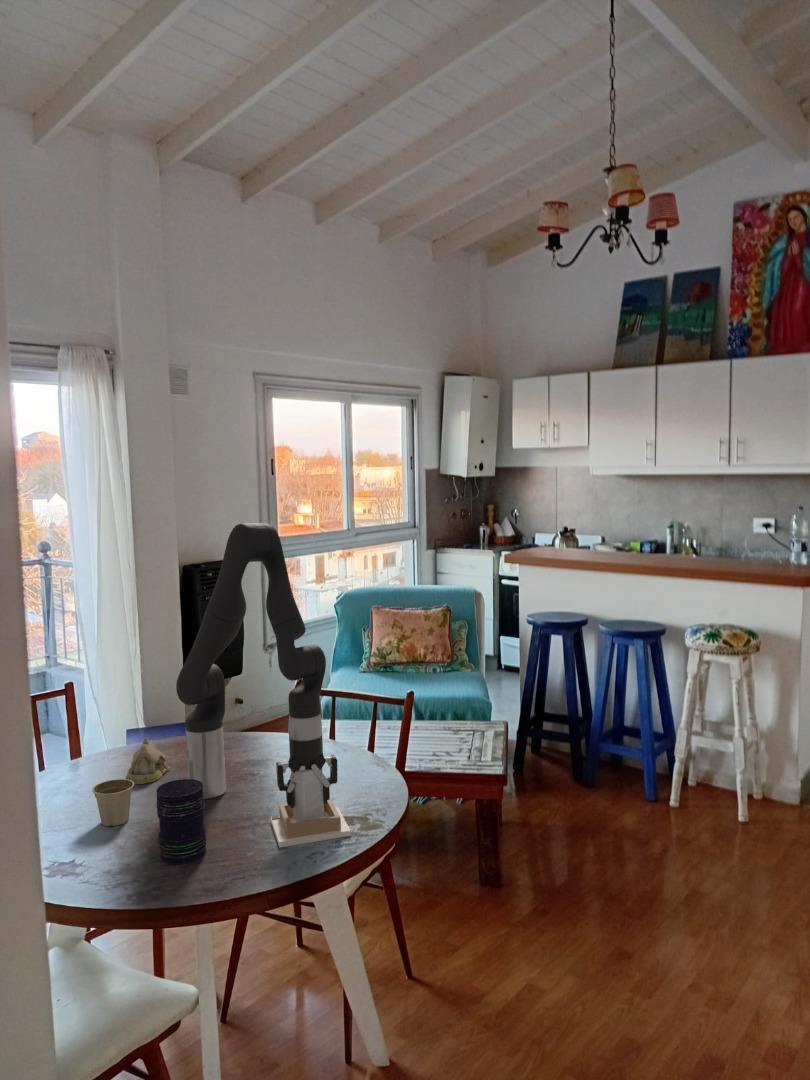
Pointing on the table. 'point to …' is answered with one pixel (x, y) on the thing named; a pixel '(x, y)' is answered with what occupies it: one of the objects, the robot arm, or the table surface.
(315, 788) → the skincare box
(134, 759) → the ceramic model
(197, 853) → the storage jar
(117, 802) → the flower pot
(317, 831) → the hub board
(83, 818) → the table surface
